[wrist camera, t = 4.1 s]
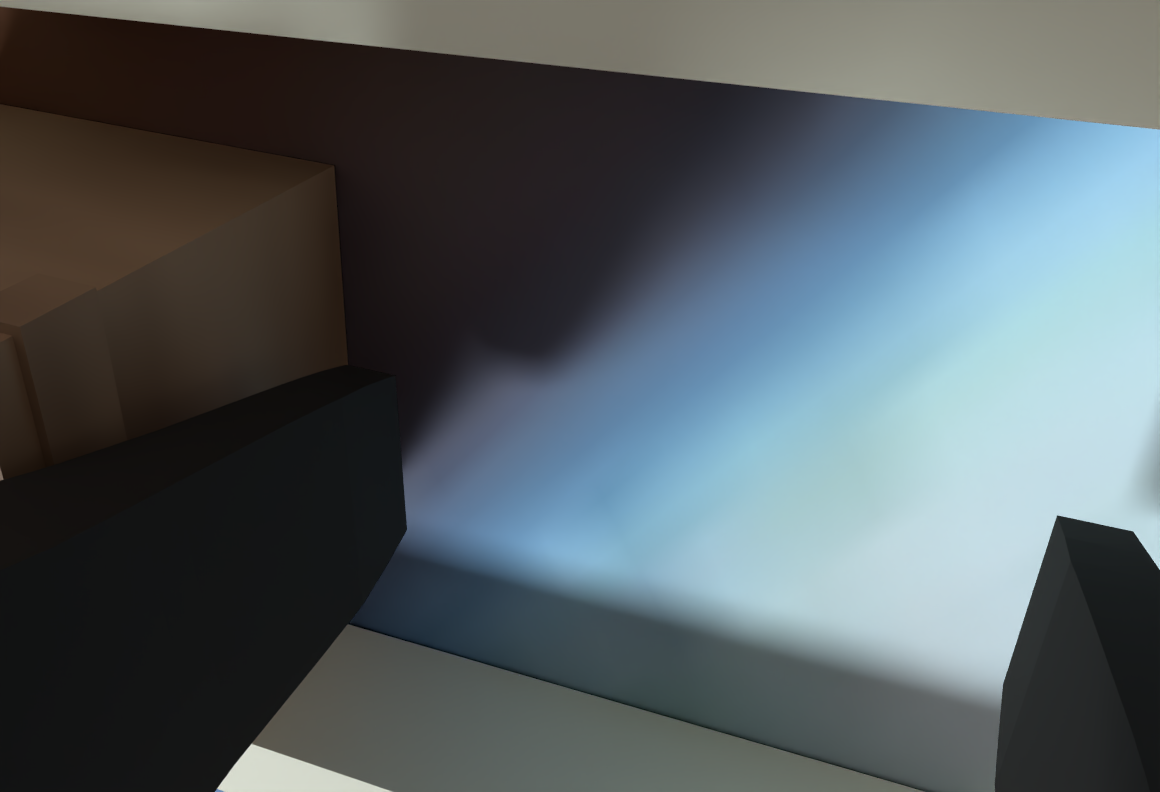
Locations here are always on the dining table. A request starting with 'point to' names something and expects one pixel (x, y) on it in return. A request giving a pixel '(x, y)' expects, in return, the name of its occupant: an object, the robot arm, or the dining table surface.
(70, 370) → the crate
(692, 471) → the dining table surface
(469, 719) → the cream u-shaped frame
